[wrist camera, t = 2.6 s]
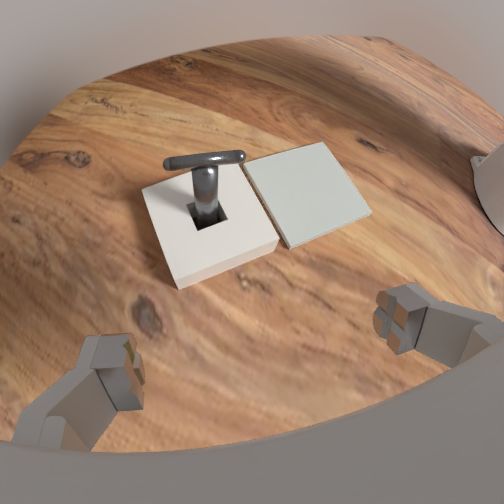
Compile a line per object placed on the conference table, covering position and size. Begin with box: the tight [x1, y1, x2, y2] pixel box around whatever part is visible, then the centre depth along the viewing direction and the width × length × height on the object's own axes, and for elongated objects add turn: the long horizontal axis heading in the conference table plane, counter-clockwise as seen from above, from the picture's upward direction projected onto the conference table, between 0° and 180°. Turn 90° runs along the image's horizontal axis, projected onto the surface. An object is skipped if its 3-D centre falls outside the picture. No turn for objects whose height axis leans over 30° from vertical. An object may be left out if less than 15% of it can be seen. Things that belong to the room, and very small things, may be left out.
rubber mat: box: [243, 142, 372, 250], centre depth 33 cm, size 11×11×1 cm
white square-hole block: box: [141, 164, 280, 290], centre depth 29 cm, size 10×10×3 cm
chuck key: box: [163, 150, 246, 231], centre depth 25 cm, size 6×2×11 cm, turn 101°
